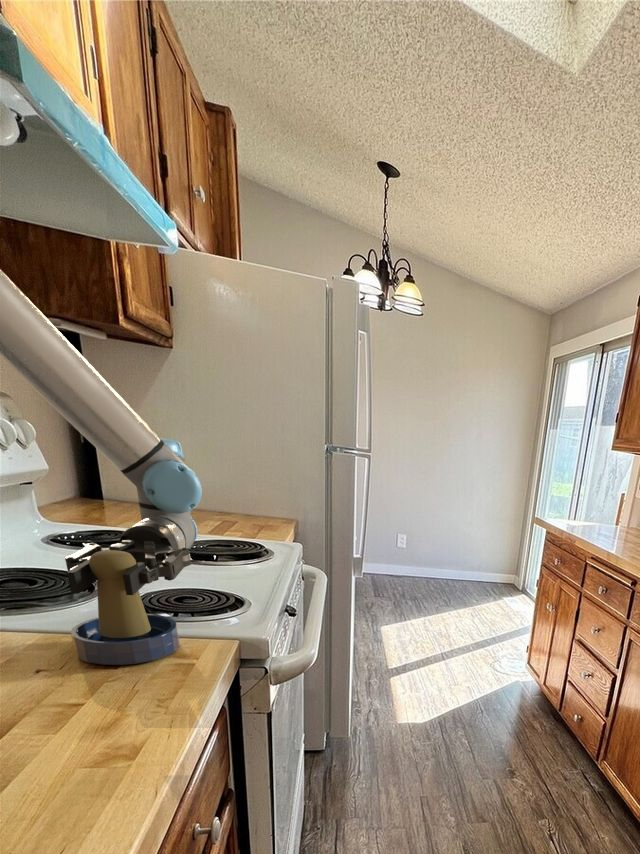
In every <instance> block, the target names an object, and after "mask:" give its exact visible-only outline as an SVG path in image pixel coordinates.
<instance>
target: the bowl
mask: <svg viewBox="0 0 640 854" xmlns="http://www.w3.org/2000/svg"><path fill="white" fill-rule="evenodd" d="M146 615H147V618H148V621H149V624H150V627H151V630H150V631H149V632H148V633H145V634H143V635H139V636H135V637H127V638H111V637H105V636H103V635H100V633H99V617H95V618H90V619H88V620H85V621H82V622H80V623H79V624H76V625H75V626H74V627H72V629H71V631H70V637H71V640H72V644H73V645H72V646H73V650H74V653H75V655H76V656H77V659H79V660H81V661H83V662H86V663H90V664H96V665H102V666H104V665H105V666H128V665H136V664H137V665H138V664H143V663H147V662H153V661H156V660H158V659H161V658H165V657H167V656H169V655H171V654H173V653H175V652H176V651H177V650H178V649H179V648H180V637H179V631H178V623H177V621H175V620H174V619H173V618H170V617H167V616H164V615H159V614H155V613H154V614H153V613H146Z"/></svg>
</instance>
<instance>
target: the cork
mask: <svg viewBox="0 0 640 854" xmlns="http://www.w3.org/2000/svg"><path fill="white" fill-rule="evenodd" d="M136 564H137V563H136V560H135V558H134V557H133V556H132V555H131V554H129V553H127V552H123V551H115V550H108V551H100V552H96V553H94V554H92V555H91V557H90V559H89V566H90V569H91V571H92V573H93V574H94V575H95V576H96V577H97V581H96V588H97V610H98V611H97V614H98V615H97V616H98V617H97V618H99V633H100V635H103V636H105V637H111V638H127V637H135V636H139V635H143V634H145V633H148V632H149V631H150V630H151V627H150V624H149V621H148V618H147V615H146V614H147V612H146V609H145V605H144V603H143V600H142V596H141V594H140V589H139V590H138V591H137V592H136V593H135V594H134V595H126V590H125V585H124V579H123V574H124V573H125V572H126V571H128V570H129V569H130V568H132V567H133V566H134V565H136Z"/></svg>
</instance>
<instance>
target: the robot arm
mask: <svg viewBox="0 0 640 854" xmlns="http://www.w3.org/2000/svg"><path fill="white" fill-rule="evenodd" d="M0 358H1V360H3V362H5V363H6V364H7V365H8V366H9V367H10V368H11V369H12V370H13V371H14V372H16V373H17V374H18V376H19V377H21V378H22V379H23V380H24V381H25V382H26V383H27V384H28V385H29V386H30V387H31V388H32V389H34V391H36V393H38V394H39V395H40V397H42V398H43V399H44V400H45V401H46V402H47V403H48V404H49V405H50V406H51V407H53V409H54V410H55V411H56V412H58V413H59V415H61V416H62V417H63V418H64V420H66V421H67V422H68V423H69V424H70V425H71V426H72V427H73V428H74V429H75V430H77V431H78V432H79V433H80V435H82V436H83V437H84V438H85V439H86V440H87V441H88V442H89V443H90V444H91V445H92V446H94V448H96V449H97V450H98V451H99V452H100V453H101V455H103V456H104V457H105V458H106V459H107V460H108V461H109V462H110V463H112V465H113V466H114V467H116V469H118V470H119V471H120V473H122V474H123V476H124V477H126V478H127V479H128V480H129V481H130V482H131V483H132V484H133V485H134V486H135V487H136V492H137V497H138V506H139V512H140V518H141V519H140V521H138V522H136V523H134V525H132V526H130V527H129V528H127V529H126V530H125V531H123V532H122V533H121V535H120V537H119V539H118V542H117V543H113V544H110V545H109V547H108V548H107V547H105V548H102V545H100V544H97V543H96V542H89V543H86V546H84V547H83V548H82V549H79V550H78V551H76V552H73V553H71V554H69V555H68V556H66V557H64V559H65V560H64V561H65V565H66V570H67V572H66V576H67V581H68V585H69V589H70V593H71V594H72V595H74V594H75V595H79V594H81V593H82V592H83V591H85V590H86V589H87V588H89V587H90V586H92V585H93V584H95V583H97V577H96V576H95V575H94V574H93V573H92V571H91V569H90V566H89V559H90V557H91V555H92V554H94V553H96V552H100V551H108V550H115V551H123V552H127V553H129V554H131V555H132V556H133V557H134V558H135V560H136V563H137V564H136V565H134V566H133V567H132V568H130V569H129V570H128V571H126V572H125V573H124V574H123V579H124V585H125V590H126V595H134V594H135V593H136V592H137V591H138V590H139V591H140V590H141V589H142V588H143V587H144V586H145V585H150V584H152V583H153V582H156V581H159V580H160V578H164V580H165V581H169V582H171V581H173V580H175V579H176V578H177V576H179V574H180V573H181V572H182V571H183V570H184V568H186V567H189V566H192V563H191V561H192V560H191V553H190V549H191V548H192V547H193V546H194V543H195V542H196V539H197V537H198V531H199V530H198V526H197V523H196V521H195V520H194V518H193V516H192V515H191V511H193V510H195V508H196V507H197V506H198V505H199V503H200V502H201V499H202V495H203V489H202V488H203V487H202V483H201V481H200V480H199V476H198V475H197V473H195V471H194V470H193V469H192V468H191V467H190V466H189V465H188V464H186V463H185V460H186V458H185V456H184V452H183V447H182V444H181V442H179V441H178V440H175V439H173V438H164V437H161V436H159V434H157V433H156V432H155V431H154V430H153V428H152V427H150V425H149V424H148V423H147V422H146V421H145V420H144V419H143V418H142V417H141V416H140V415H139V414H138V413H137V412H136V410H135V409H134V408H133V407H132V406H131V405H130V404H129V403H128V402H127V401H126V400H125V399H124V398H123V397H122V396H121V395H120V394H119V392H118V391H117V390H116V389H115V388H113V386H112V385H111V384H110V383H109V382H108V381H107V380H106V379H105V378H104V377H103V376H102V375H101V374H100V373H99V371H98V370H97V369H96V368H95V367H94V366H93V365H92V364H91V363H90V362H89V361H88V359H86V357H84V356H83V354H81V352H80V351H79V350H78V349H77V348H76V347H75V346H74V345H73V344H72V343H71V342H70V341H69V340H68V339H67V338H66V337H65V336H64V334H62V332H60V330H59V329H58V327H56V326H55V325H54V324H53V322H51V321H50V320H49V318H47V316H45V315H44V314H43V312H42V311H41V310H40V309H39V308H38V307H37V306H36V305H35V304H34V303H33V302H32V301H31V300H30V299H29V297H27V295H26V294H25V293H24V292H23V291H22V290H21V289H20V288H19V287H18V286H17V285H16V283H14V282H13V281H12V279H10V278H9V276H8V275H7V274H6V273H5V272H4V271H3V270H2V269H1V268H0Z"/></svg>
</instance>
